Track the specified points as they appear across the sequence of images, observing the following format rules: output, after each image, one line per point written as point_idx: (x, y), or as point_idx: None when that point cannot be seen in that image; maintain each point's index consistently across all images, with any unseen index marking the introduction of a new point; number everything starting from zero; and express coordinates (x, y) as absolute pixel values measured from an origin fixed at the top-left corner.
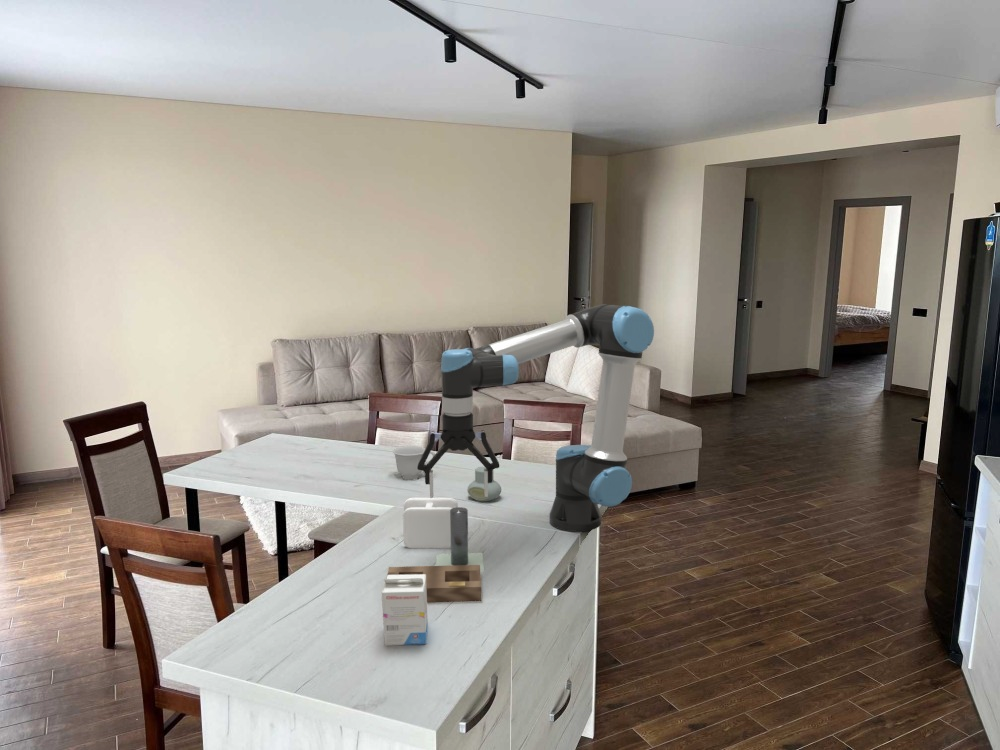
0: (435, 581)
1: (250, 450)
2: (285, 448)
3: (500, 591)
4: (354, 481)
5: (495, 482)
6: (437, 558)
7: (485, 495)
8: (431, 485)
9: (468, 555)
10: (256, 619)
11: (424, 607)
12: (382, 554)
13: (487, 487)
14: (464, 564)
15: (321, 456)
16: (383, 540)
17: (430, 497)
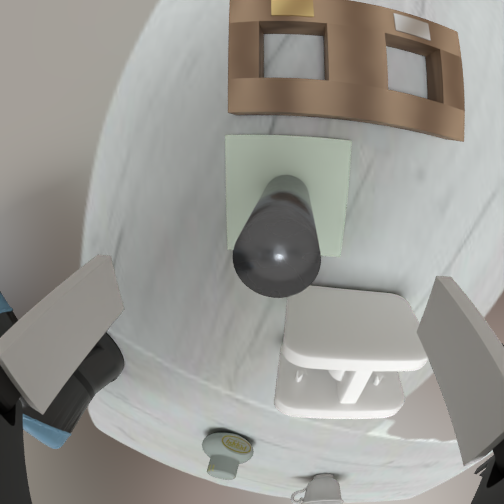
0: (351, 28)
1: (441, 481)
2: (415, 489)
3: (192, 53)
4: (388, 467)
5: (208, 454)
6: (340, 230)
7: (103, 258)
8: (483, 328)
9: None
10: None
11: None
12: None
13: (64, 282)
14: (273, 178)
15: (395, 488)
16: None
17: (451, 278)
